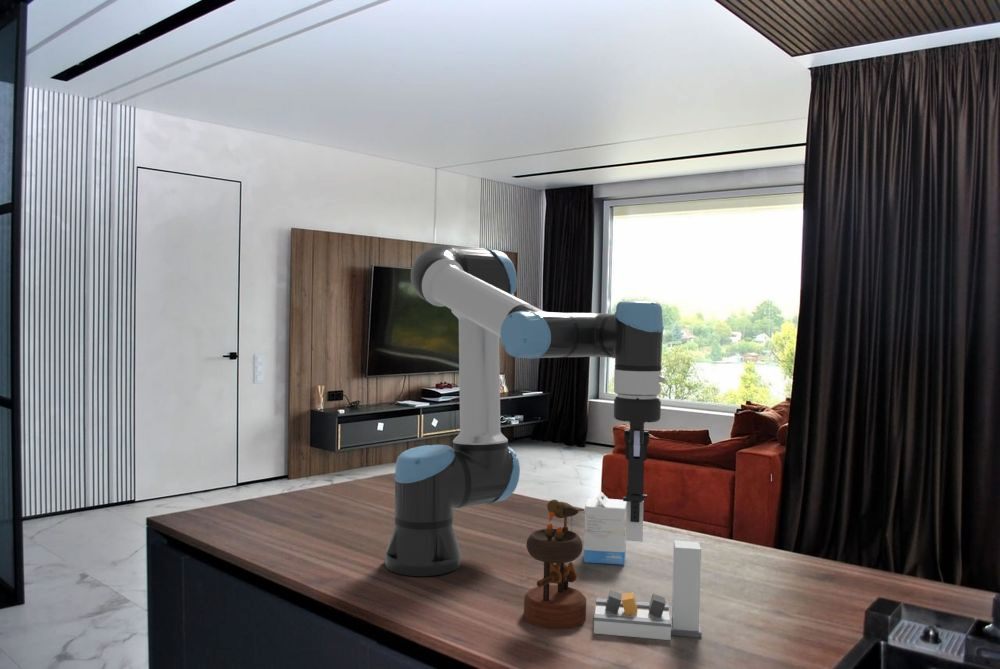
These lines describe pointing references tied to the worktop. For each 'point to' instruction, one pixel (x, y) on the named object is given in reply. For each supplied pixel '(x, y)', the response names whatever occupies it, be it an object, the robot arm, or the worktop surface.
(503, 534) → the worktop surface
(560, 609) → the music box
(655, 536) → the worktop surface
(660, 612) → the paddle
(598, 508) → the ink box
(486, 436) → the robot arm
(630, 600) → the paddle
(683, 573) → the post
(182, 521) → the worktop surface
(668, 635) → the breaker board
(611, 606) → the paddle
